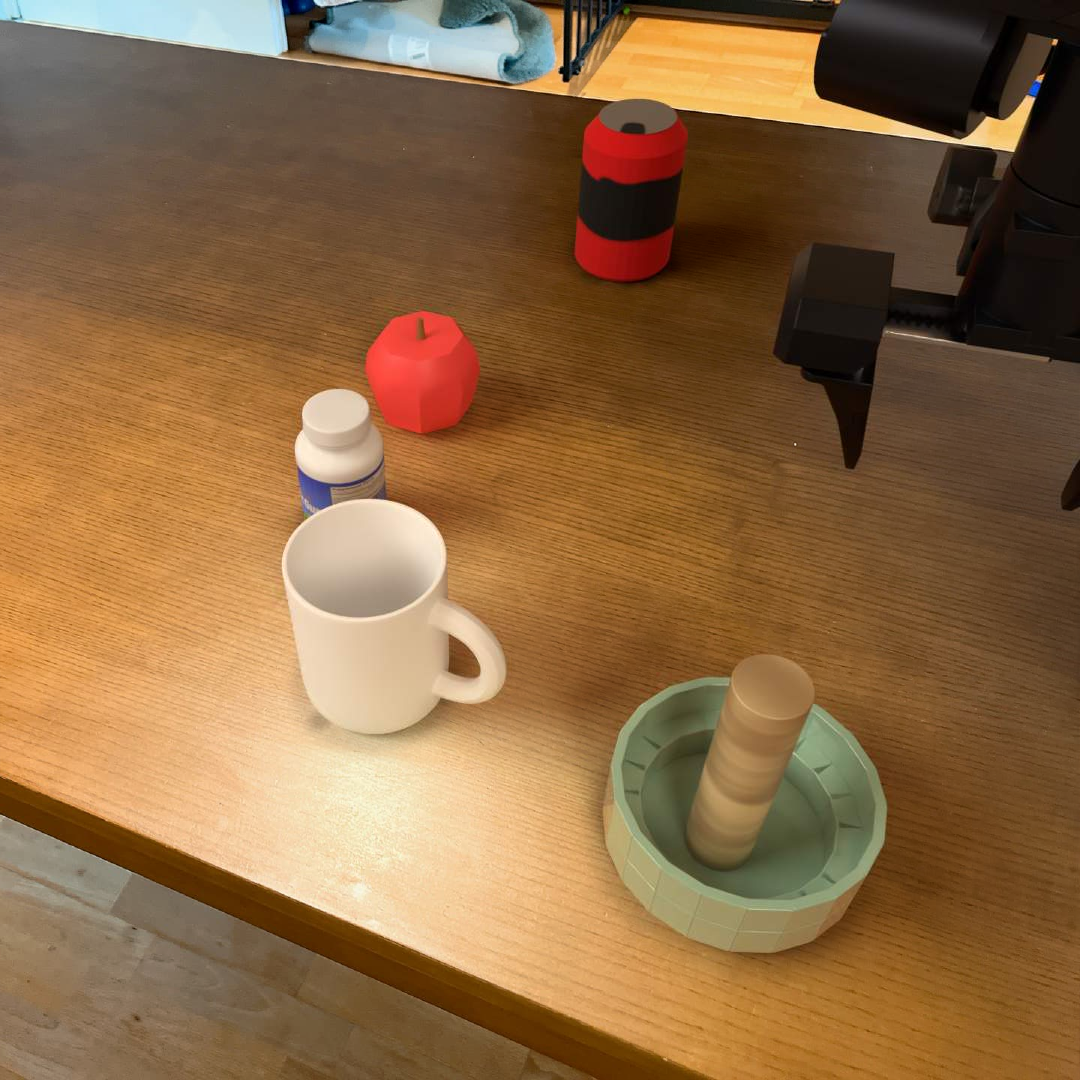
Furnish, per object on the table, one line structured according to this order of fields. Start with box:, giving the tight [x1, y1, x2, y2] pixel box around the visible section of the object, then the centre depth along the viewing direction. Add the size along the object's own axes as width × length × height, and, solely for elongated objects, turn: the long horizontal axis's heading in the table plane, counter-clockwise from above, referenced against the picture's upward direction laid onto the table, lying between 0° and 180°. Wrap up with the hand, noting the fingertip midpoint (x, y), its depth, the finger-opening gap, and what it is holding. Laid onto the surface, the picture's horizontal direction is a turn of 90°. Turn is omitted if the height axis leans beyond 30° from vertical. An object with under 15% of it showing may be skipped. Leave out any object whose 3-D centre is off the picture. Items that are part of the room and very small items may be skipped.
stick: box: [684, 653, 816, 871], centre depth 47 cm, size 3×3×13 cm
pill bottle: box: [294, 388, 387, 521], centre depth 66 cm, size 5×5×10 cm
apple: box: [364, 310, 482, 435], centre depth 73 cm, size 8×8×8 cm
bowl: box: [602, 676, 888, 954], centre depth 51 cm, size 12×12×5 cm
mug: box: [281, 499, 508, 735], centre depth 56 cm, size 12×8×10 cm
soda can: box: [574, 98, 689, 283], centre depth 83 cm, size 8×8×12 cm
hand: (954, 482), depth 50 cm, fingers open, 9 cm apart
